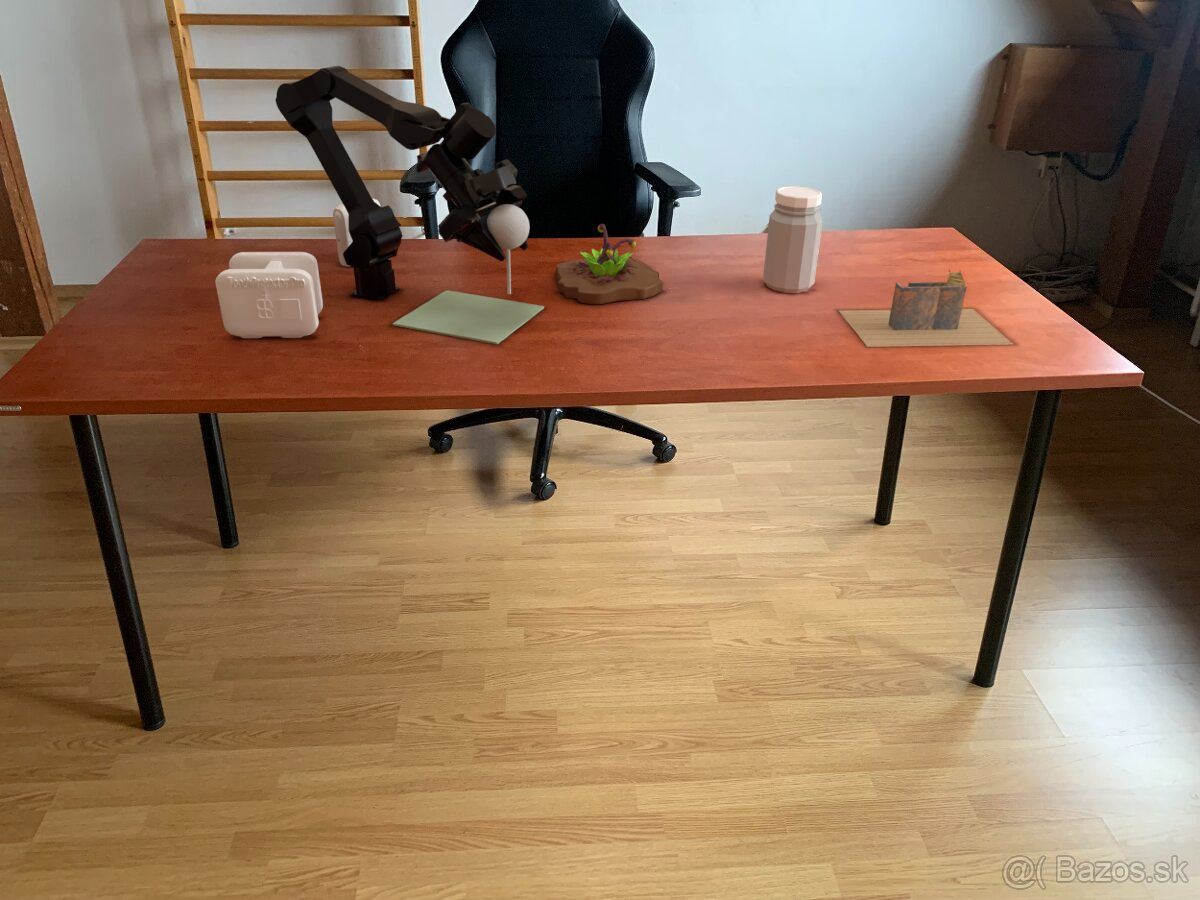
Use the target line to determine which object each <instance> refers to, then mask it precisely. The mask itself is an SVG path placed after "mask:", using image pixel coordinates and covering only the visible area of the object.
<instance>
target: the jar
mask: <svg viewBox="0 0 1200 900" xmlns="http://www.w3.org/2000/svg"><path fill="white" fill-rule="evenodd" d="M822 198H823V193H822V192H821V190H818V189H816V188H813V187H807V186H801V185H799V186H798V185H797V186H796V185H790V186H782V187H780V188H778V189H775V198H774V200H775V204H774V205H773V207H774V210H773V211H772V212H771V213H770V214H769V218H768V228H767V236H766V237H767V238H766V247H765V254H764V255H765V257H764V266H763V274H762V275H763V276H762V279H763V282H764V284H765V285H766V287H767V288H769V289H770V290H773V291H775V292H780V293H784V294H798V293H804V292H806V291H808V290H809V289H810V288H812V287H813V285H815V282H816V274H817V265H818V259H819V251H820V244H821V237H822V230H823V222H824V220H823V218H822V216H821V214H820V213H819V212H821V208H820V205H822V202H823V201H822V200H823V199H822Z"/></svg>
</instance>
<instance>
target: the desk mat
mask: <svg viewBox="0 0 1200 900" xmlns="http://www.w3.org/2000/svg"><path fill="white" fill-rule="evenodd" d="M544 309H545V305H538V304H534V303H533V304H532V303H526V302H521V301H516V300H509V299H503V298H496V297H491V296H485V295H479V294H472V293H466V292H460V291H455V290H448V289H446V290H444V291H442V292H441V293H439V294H438V295H436V296H434V297H432V298H431V299H430V300H428V301H426V302H425V303H423V304H421V305H420V306H418V307H417V308H415V309H413V310H412V311H410V312H408V313H407V314H405V315H403V316H402V317H401V318H399V319H397V320H395V321H394V322H392V326H393V327H394V326H395V327H400V328H404V329H411V330H414V331H415V330H416V331H420V332H426V333H433V334H438V335H443V336H449V337H454V338H460V339H464V340H471V341H477V342H481V343H486V344H487V343H488V344H492V345H499V344H500V343H501V342H502V341H504V340H505V339H506V338H508V337H509V336H511V334H513V333H514V332H515V331H516V330H518V329H519V328H520V327H522V326H523V325H524V324H526V323H527V322H528V321H530V320H531V319H533V318H534V317H535V316H536V315H538V314H539V313H541V312H542V311H543V310H544Z"/></svg>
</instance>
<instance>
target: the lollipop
mask: <svg viewBox="0 0 1200 900" xmlns="http://www.w3.org/2000/svg"><path fill="white" fill-rule="evenodd" d="M487 225H488V229H489V231H490V232H491V234H492V235H493V237H494V238H495V240H496V241H497V243H498V244H499V246H500V247H501V249H502V250H503V249H504V250H505V254H506V255H505V256H506V259H505V260H506V293H507V295H511V294H512V271H511V270H512V269H511V267H512V265H511V250H512V249H516V248H519V247H518V246H520V245H522V244H523V243H524V242H525V240H526V241H527V239H528V237H529V234H530V228H531V227H530V219H529V218H528V215H527V214H526V212H525V211H524V210H523V208H520V207H517V206H514V205H510V204H505V205H500V206H498V207H496V208H495V209H493V210H492V211H491V213H490V214H489V216H487Z"/></svg>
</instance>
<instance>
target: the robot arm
mask: <svg viewBox="0 0 1200 900" xmlns="http://www.w3.org/2000/svg"><path fill="white" fill-rule="evenodd" d="M334 99H337V100H339V101H341V102H343V103H345V104H346V105H348V106H349V107H350V108H353V109H355V110H356V111H358V112H360V113H362V114H363V115H365V116H367V117H369V118H371V119H372V120H374V121H376V122H377V123H380V124H381V125H382V126H383V127H384V128H385V129H386V131H387V133H388V134H389V136H390V137H391V138H392V139H393V140H395V141H396V142H397V143H398V144H399V145H401V146H402V147H403V148H405V149H406V150H409V151H414V150H418V149H422V148H425V147H429V146H430V148H429V149H428V150H427V151H426V152H423V153H421V154H417V156H416V160H417V161H416V167H415V171H416V173H418V174H420V173H422V172H425V171H430V173H431V174H432V176H433V177H434V178H435V179H436V181H437V182H438V183H439V185H440V187H442V188H443V190H444V191H445V192H444V193H443V194H442V198H443V199H444V200H445V202H447V201H449V200H452V202H453V203H454V205H455V206H456V207H455V208H453V209H451V210H450V212H449V213H448V214H447V215H446V216H445V217H444V219H443V220H442V221H441V222H440V223H439V224H438V225H437V227H438V234H439V236H440V237H441V238H442V240H443V241H444V242H445V243H448V242H450V241H453V240H456V242H457V243H463V244H465V245H468V246H470V247H472V248H474V249H476V250H479V251H480V252H482V253H484V254H486V255H488V256H490V257H491V258H494V259H496V260H497V261H499V262H504V261H505V260H506V255H505V254H506V253H504V250H503V248H501V247H500V246H499V244H498V243H497V241H496V240H495V238H494V237H493V235H492V234H491V232H490V231H489V229H488V225H487V218H488V216H489V214H490V213H491V211H492V210H493V209H495V208H496V207H498V206H500V205H505V204H510V205H514V206H517V207H519V208H520V207H521V206H522V203H523V201H524V200H525V199H526V198H527V197H528V194H527V193H526V191H525V190H524V188H523V187H522V186H521V185H517V180H516V178H517V176H518V169H517V168H516V167H515V165H514V164H513V163H512V162H511V161H510V160H509V159H508V158H506V159H504V160H501V161H499V162H497V163H495V164H494V165H495V167H494V169H493V170H490V171H488V172H484V170H483V169H481V168H475V169H474V168H473V167H472V166H471V165H470V163H469V162H468V161H467V160H473V159H475V158H476V157H477V156H478V155H479V154H480V152H481V151H482V150H483V149H484V148H485V147H486V146H487V144H488V143H489V142H490V141H491V140H492V139H493V138H494V137H495V136H496V133H497V128H496V125H495V123H494V121H493V119H491V117H490V116H489V115H486V113H484V112H483V111H481V110H479V109H478V108H475V107H473V106H472V104H470V103H469V102H464V103H461V104H459V106H458V107H457V108H456V109H455V112H454V113H453V115H452V116H451V117H450V118H448V117H445V116H442V115H441V113H440V112H438V111H437V110H436V109H435V108H432V107H430V106H427V105H423V104H420V103H417V102H410V101H404V100H401V99H398V98H396V97H394V96H392V95H390V94H388V93H387V92H385V91H383V90H382V89H380V88H378V87H376V86H374V85H373V84H371V83H369V82H368V81H365V80H364V79H362V78H360V77H359V76H357V75H355V74H353V73H351V72H349V71H348V69H347V68H345V67H343V66H341V65H333V66H328V67H321V68H320V69H319V70H317V71H315V72H314V73H312V74H310V75H308V76H305V77H303V78H301V79H299V80H295V81H290V82H289V81H288V82H283V83H282V84H280V85H279V86H278V88H277V89H276V97H275V99H274V100H275V105H276V108H277V109H278V111H279V112H280V114H281V115H282V116H283V118H284V119H285V121H286V122H287V123H288V125H289V126H290V127H291V128H293V129H294V130H295V131H297V132H298V133H299V134H300V135H302V136H304V138H306V140H307V141H308V143H309V145H310V147H311V149H312V151H313V152H314V154H315V156H316V158H317V160H318V161H319V163H320V165H321V167H322V168H323V170H324V172H325V174H326V176H327V178H328V180H330V184H331V185H332V187H333V189H334V190H335V192H336V194H337V196H338V198H339V199H340V201H341V204H342V203H343V205H344V207H345V208H346V210H347V212H348V219H349V233H350V236H351V238H352V241H353V242H352V243H351V244H350V245H349V247H348V248H347V249H346V250H345V251H344V253H343V256H344V259H345V262H346V264H347V265H350V267H353V276H354V284H355V290H353V291H351V292H350V295H351V296H352V297H358V298H362V299H369V300H376V301H383V300H384V299H386V298H387V297H389V296H392V295H393V294H394V293H396V292H398V291H400V286H397V285H396V277H395V276H396V275H395V269H394V268H393V264H392V258H396V257H397V255H398V251H399V247H400V246H401V245H402V238H403V232H402V229H401V228H400V227H402V224H401V223H400V221H398V219H397V218H396V215H395V214H394V211H393V208H392V207H391V206H390V205H385V206H379V205H378V204H377V203H375V202H374V201H373V199H374V198H373V199H372V196H371V194H370V192H369V190H368V188H367V186H366V185H365V183H364V181H363V179H362V177H361V175H360V173H359V171H358V170H357V168H356V166H355V165H354V163H353V161H352V159H351V157H350V155H349V154H348V152H347V150H346V148H345V146H344V144H343V142H342V141H341V138H340V137H339V135H338V133H337V131H336V130H335V127H334V125H333V107H332V103H331V101H332V100H334ZM442 139H443V140H442ZM440 141H441V142H440ZM458 234H459V236H458ZM517 248H519V249H520V250H522V251H526V250H527V249H528V248H529V243H528V241H527V239H526V240H525V242H524V243H523V244H522V245H520V246H518V247H517Z"/></svg>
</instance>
